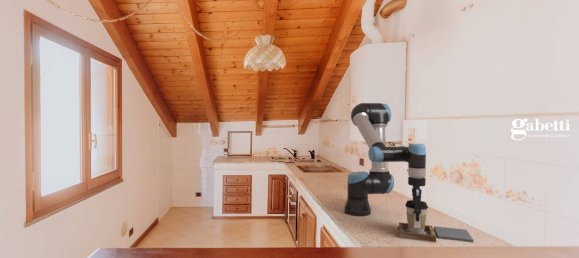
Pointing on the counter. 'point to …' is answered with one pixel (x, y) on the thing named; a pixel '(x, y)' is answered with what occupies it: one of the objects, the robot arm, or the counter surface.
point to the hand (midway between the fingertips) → (416, 224)
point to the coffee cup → (410, 216)
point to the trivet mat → (453, 234)
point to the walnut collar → (416, 235)
